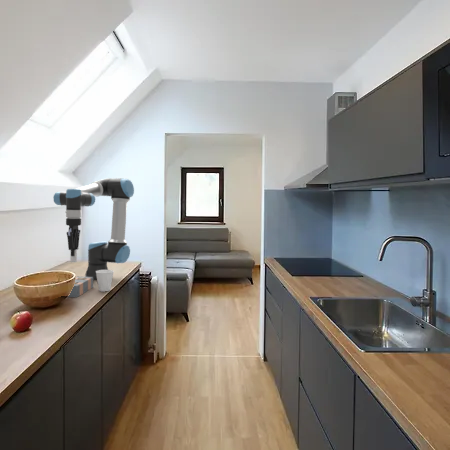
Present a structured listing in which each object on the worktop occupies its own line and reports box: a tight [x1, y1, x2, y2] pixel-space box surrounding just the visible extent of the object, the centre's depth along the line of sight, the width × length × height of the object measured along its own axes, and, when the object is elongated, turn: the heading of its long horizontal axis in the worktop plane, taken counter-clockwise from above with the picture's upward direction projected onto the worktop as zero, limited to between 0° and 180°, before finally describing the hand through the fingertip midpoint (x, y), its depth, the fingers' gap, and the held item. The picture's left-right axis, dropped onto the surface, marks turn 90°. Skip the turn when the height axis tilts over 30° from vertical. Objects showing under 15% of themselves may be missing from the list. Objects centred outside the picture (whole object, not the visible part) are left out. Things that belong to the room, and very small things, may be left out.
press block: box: [67, 276, 94, 298], centre depth 223 cm, size 24×9×6 cm, turn 179°
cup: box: [96, 269, 115, 293], centre depth 227 cm, size 10×10×11 cm
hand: (73, 261), depth 216 cm, fingers closed
